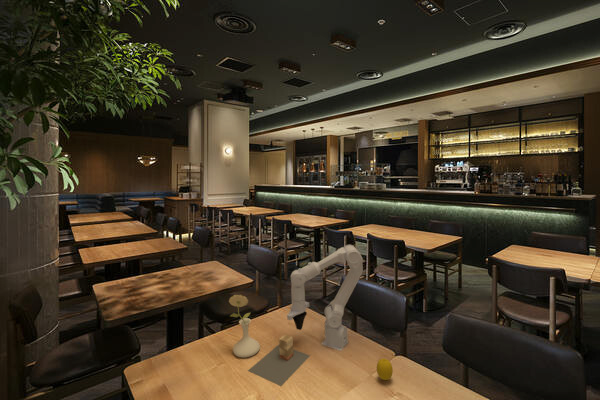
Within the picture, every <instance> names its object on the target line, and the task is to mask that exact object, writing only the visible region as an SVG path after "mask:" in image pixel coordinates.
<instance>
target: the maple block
mask: <svg viewBox="0 0 600 400" xmlns="http://www.w3.org/2000/svg"><path fill="white" fill-rule="evenodd" d="M278 345H279V350H280V358H282V359H284V360H287V361H288V360H289V359H290V358H291V357H292V356H293V349H294V338H293V336H291V335H288V334H283V335H282V336H281V337H280V338H279V339H278Z"/></svg>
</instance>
